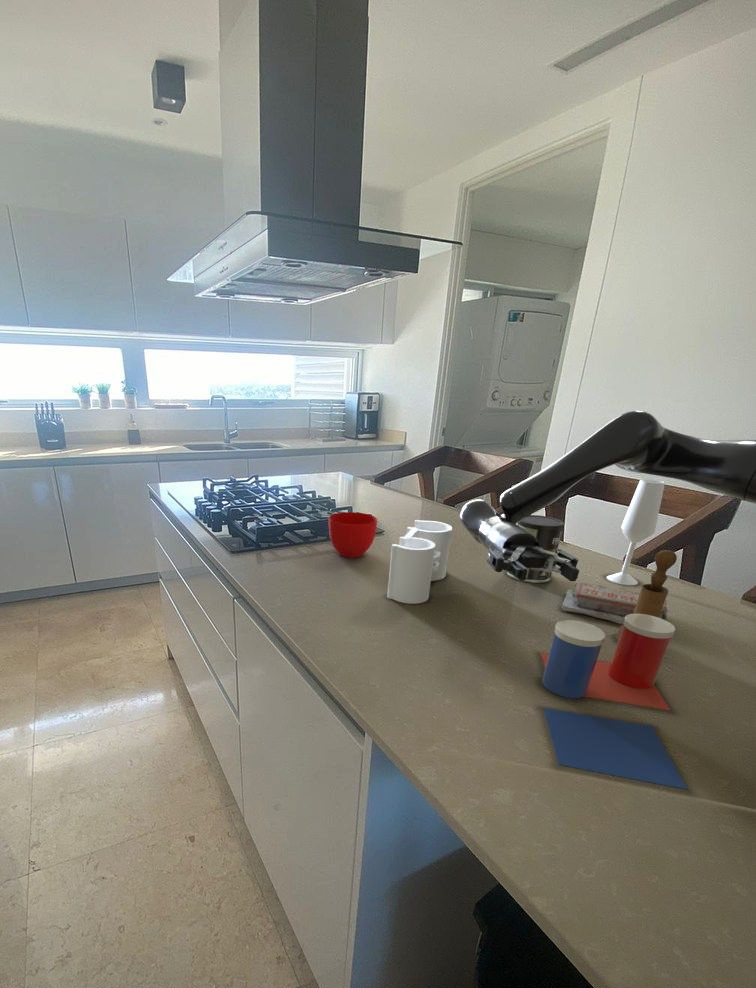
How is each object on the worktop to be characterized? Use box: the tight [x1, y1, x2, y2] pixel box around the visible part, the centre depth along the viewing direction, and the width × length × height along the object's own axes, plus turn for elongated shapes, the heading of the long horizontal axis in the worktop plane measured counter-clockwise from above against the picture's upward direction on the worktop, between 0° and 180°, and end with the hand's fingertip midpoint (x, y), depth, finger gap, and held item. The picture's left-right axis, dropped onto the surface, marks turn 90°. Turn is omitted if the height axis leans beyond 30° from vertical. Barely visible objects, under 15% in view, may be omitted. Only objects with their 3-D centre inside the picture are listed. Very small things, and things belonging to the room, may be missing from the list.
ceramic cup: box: [328, 511, 378, 559], centre depth 133 cm, size 13×17×10 cm
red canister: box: [608, 614, 676, 689], centre depth 77 cm, size 7×7×10 cm
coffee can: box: [506, 514, 565, 584], centre depth 118 cm, size 10×10×14 cm
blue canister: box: [541, 619, 606, 699], centre depth 74 cm, size 7×7×10 cm
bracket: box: [386, 519, 453, 605], centre depth 112 cm, size 25×10×12 cm, turn 154°
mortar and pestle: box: [615, 549, 678, 641], centre depth 86 cm, size 7×6×18 cm
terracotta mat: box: [540, 653, 671, 711], centre depth 78 cm, size 16×12×1 cm
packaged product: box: [561, 581, 669, 625], centre depth 101 cm, size 18×5×10 cm
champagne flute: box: [606, 478, 666, 586], centre depth 114 cm, size 7×7×24 cm
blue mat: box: [543, 707, 689, 790], centre depth 64 cm, size 14×12×1 cm
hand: (550, 575), depth 81 cm, fingers open, 8 cm apart
